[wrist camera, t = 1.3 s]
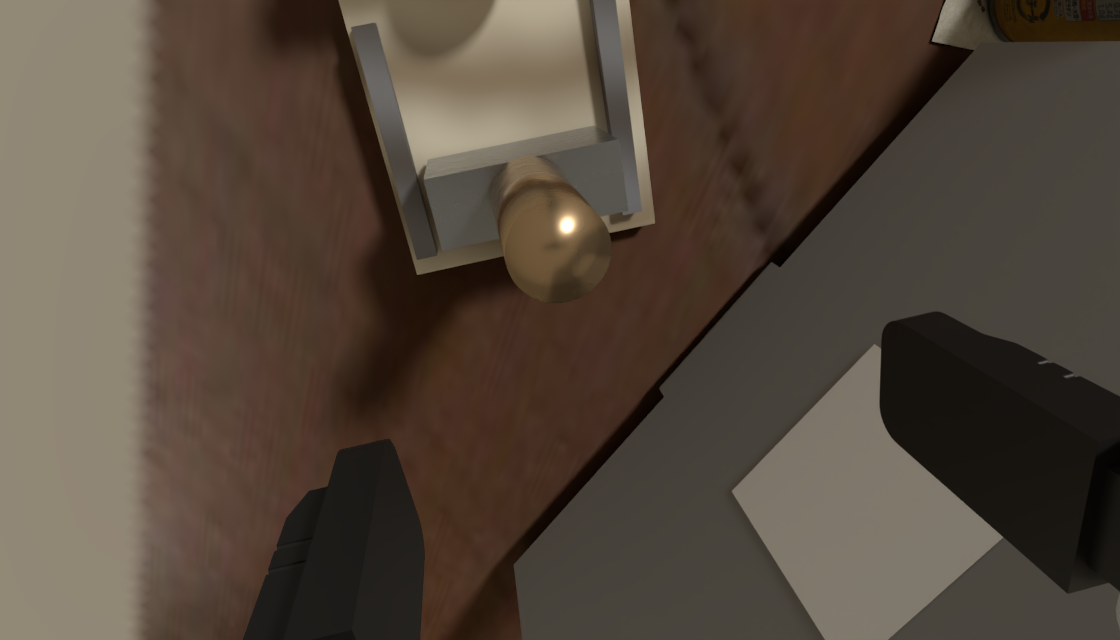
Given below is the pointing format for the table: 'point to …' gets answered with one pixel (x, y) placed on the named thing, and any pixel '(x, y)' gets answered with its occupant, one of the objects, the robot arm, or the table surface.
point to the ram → (535, 207)
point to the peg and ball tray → (494, 93)
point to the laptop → (864, 395)
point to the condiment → (1027, 21)
